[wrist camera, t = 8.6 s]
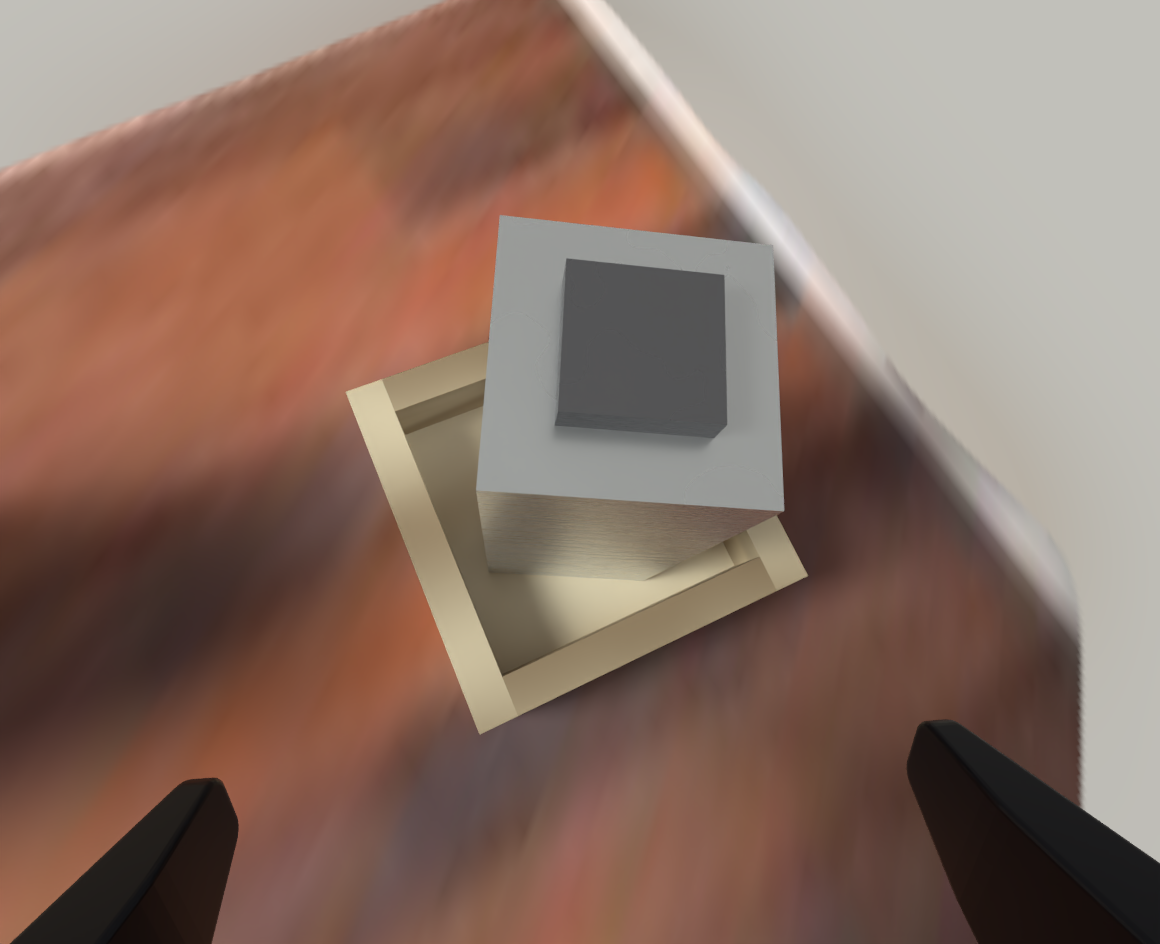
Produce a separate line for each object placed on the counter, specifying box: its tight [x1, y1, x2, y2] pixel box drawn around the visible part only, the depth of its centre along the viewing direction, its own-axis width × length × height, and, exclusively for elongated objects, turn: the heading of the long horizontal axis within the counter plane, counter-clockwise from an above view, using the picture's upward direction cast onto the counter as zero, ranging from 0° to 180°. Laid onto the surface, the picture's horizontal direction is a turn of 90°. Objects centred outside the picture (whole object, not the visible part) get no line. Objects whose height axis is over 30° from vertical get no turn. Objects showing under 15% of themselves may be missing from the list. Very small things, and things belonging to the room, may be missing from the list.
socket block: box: [476, 215, 784, 581], centre depth 15 cm, size 4×4×11 cm
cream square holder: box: [346, 342, 808, 734], centre depth 19 cm, size 10×10×3 cm
